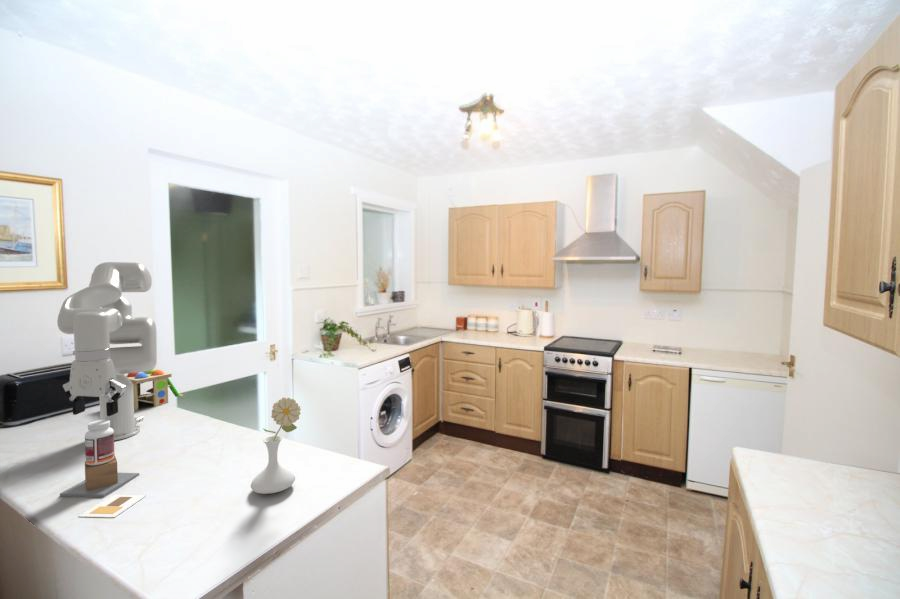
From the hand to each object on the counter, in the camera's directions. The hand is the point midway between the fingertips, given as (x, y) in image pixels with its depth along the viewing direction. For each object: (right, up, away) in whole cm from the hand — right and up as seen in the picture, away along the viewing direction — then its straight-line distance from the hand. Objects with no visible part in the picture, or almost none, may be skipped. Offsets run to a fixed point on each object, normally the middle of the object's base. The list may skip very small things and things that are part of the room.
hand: (95, 413), depth 119 cm
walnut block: (+4, -18, -3) cm, 19 cm away
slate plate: (+4, -19, -3) cm, 20 cm away
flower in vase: (+53, -20, -3) cm, 57 cm away
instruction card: (+16, -20, -14) cm, 29 cm away
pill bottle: (+4, -13, -3) cm, 14 cm away
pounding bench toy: (-29, -16, +66) cm, 74 cm away
